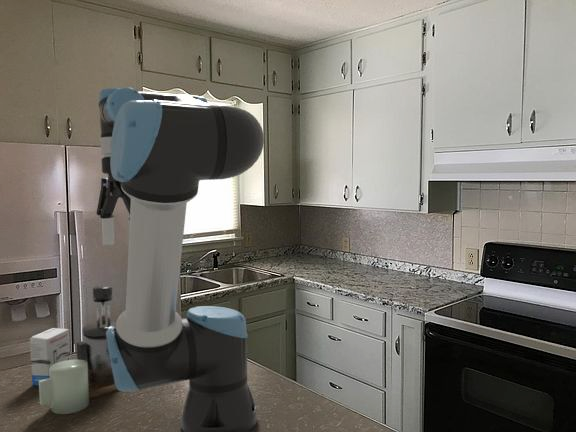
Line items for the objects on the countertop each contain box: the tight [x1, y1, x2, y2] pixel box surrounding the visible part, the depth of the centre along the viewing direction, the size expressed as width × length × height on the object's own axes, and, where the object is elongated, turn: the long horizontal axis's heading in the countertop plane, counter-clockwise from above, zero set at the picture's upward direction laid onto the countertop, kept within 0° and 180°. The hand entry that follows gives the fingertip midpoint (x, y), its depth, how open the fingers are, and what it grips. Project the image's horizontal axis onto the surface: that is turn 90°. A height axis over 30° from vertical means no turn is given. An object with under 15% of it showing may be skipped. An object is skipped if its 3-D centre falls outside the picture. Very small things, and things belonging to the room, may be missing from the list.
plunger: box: [92, 285, 114, 325], centre depth 119 cm, size 4×4×9 cm
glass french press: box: [76, 305, 119, 399], centre depth 119 cm, size 13×13×18 cm
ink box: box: [29, 327, 71, 387], centre depth 121 cm, size 9×5×12 cm, turn 168°
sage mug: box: [38, 358, 90, 415], centre depth 106 cm, size 8×10×9 cm
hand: (122, 246), depth 117 cm, fingers open, 13 cm apart
